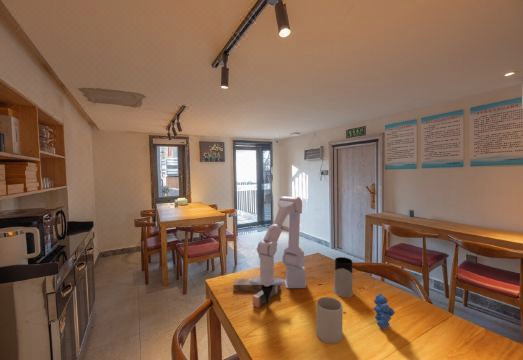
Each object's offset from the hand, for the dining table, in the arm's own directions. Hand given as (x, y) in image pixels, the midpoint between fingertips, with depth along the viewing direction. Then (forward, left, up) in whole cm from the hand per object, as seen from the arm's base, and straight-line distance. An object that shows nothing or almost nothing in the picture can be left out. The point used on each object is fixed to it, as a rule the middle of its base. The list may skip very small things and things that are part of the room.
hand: (267, 301), depth 98 cm
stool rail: (+4, -12, -1) cm, 13 cm away
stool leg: (0, -4, -1) cm, 5 cm away
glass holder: (-37, -12, -2) cm, 39 cm away
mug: (-21, +17, -2) cm, 27 cm away
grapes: (-42, +15, -2) cm, 44 cm away
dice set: (-28, +5, -2) cm, 29 cm away
